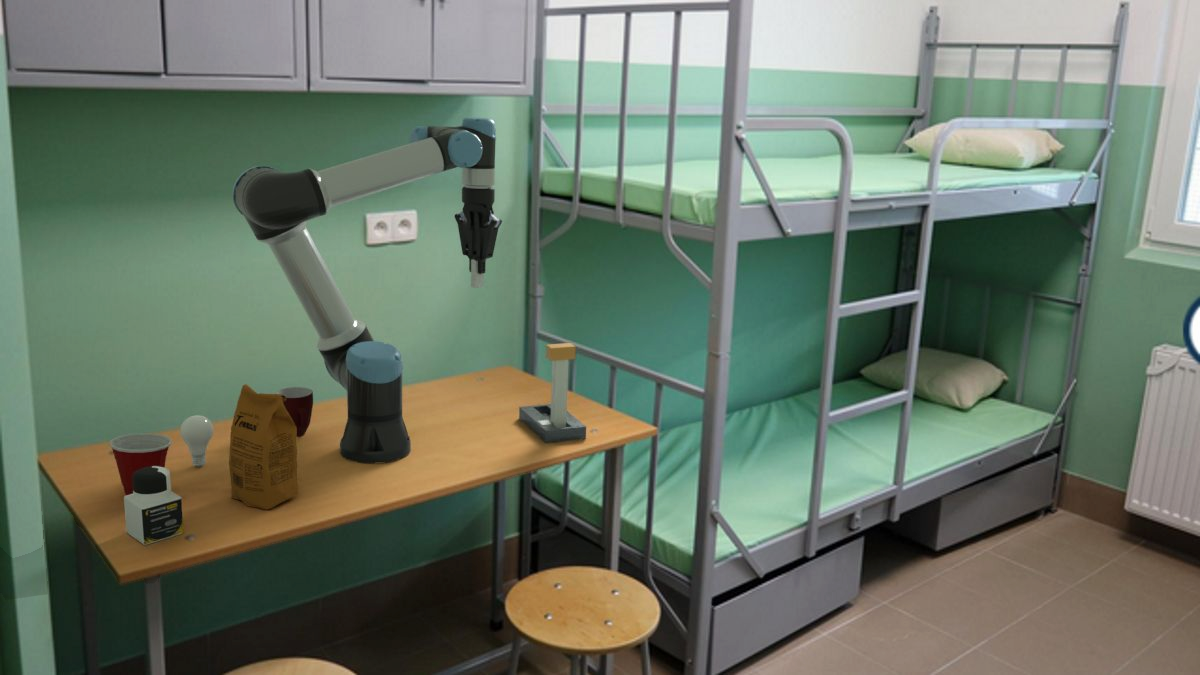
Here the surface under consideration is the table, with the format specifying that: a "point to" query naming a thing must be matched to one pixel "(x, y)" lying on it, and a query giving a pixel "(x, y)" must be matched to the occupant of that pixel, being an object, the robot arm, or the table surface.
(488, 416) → the table surface
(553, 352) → the lever
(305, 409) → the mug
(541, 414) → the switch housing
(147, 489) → the medicine bottle
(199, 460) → the lightbulb
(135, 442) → the plastic cup
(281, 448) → the coffee package
